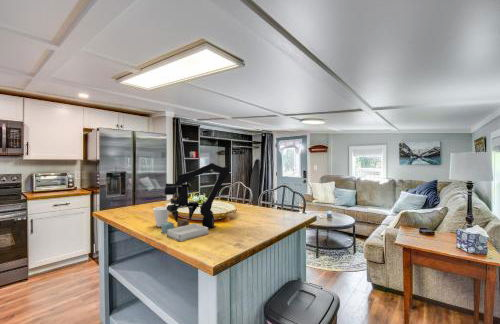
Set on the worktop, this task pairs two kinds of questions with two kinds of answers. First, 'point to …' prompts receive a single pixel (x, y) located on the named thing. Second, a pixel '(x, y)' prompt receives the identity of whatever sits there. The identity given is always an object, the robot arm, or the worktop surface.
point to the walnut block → (182, 222)
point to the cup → (161, 215)
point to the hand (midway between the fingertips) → (183, 220)
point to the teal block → (167, 227)
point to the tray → (187, 232)
